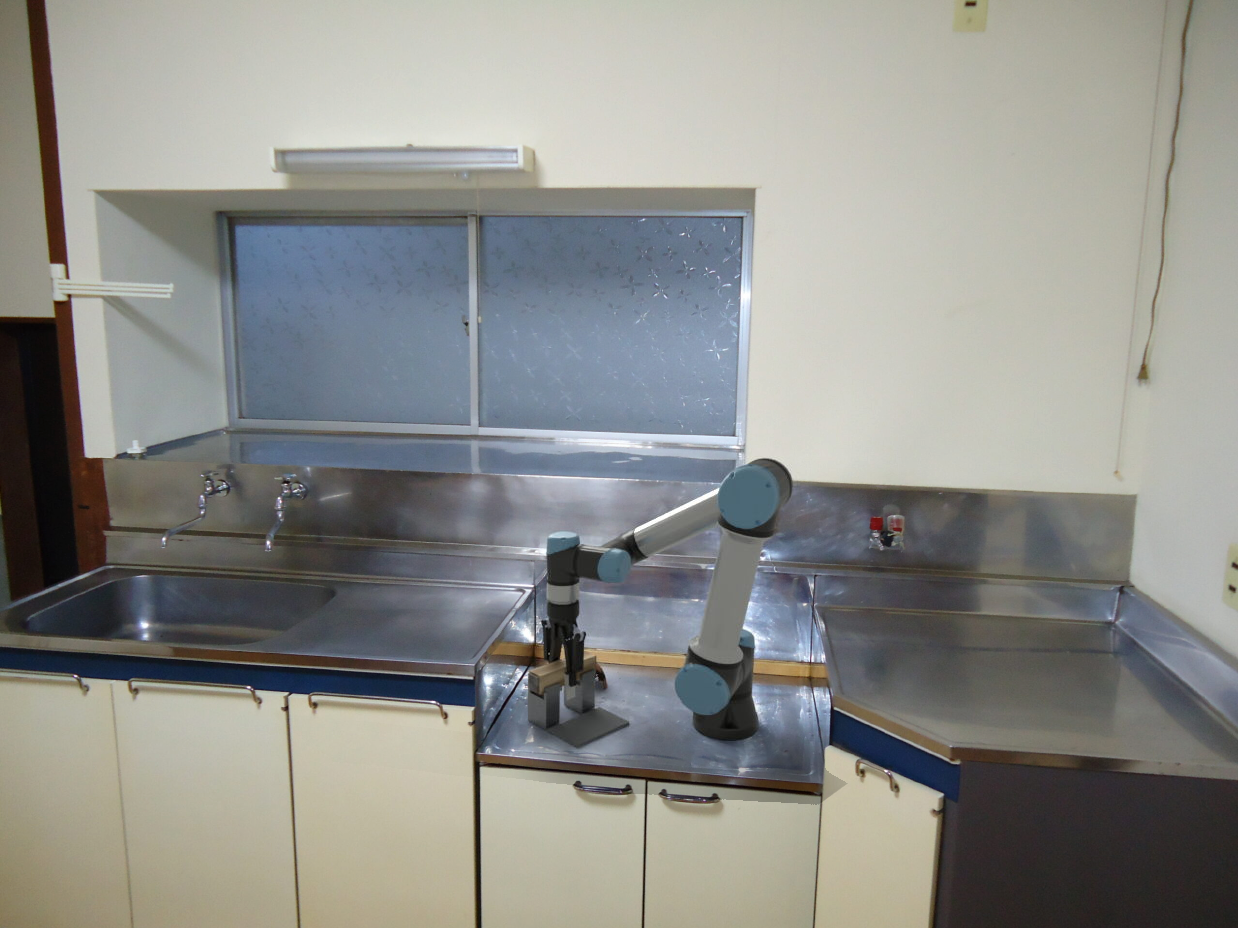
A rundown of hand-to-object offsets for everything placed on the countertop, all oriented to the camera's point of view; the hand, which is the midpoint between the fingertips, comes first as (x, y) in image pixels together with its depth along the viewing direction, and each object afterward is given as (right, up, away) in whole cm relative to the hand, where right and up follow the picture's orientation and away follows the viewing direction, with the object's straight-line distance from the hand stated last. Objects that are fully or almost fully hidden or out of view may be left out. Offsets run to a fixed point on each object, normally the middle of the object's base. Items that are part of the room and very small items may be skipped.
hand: (563, 694), depth 190 cm
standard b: (-4, -6, -3) cm, 8 cm away
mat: (+6, -6, -5) cm, 10 cm away
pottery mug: (+5, -3, +17) cm, 18 cm away
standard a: (+3, -4, +5) cm, 7 cm away
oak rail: (0, +3, -1) cm, 3 cm away
